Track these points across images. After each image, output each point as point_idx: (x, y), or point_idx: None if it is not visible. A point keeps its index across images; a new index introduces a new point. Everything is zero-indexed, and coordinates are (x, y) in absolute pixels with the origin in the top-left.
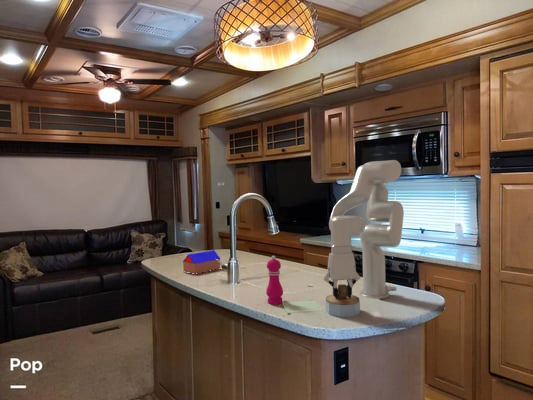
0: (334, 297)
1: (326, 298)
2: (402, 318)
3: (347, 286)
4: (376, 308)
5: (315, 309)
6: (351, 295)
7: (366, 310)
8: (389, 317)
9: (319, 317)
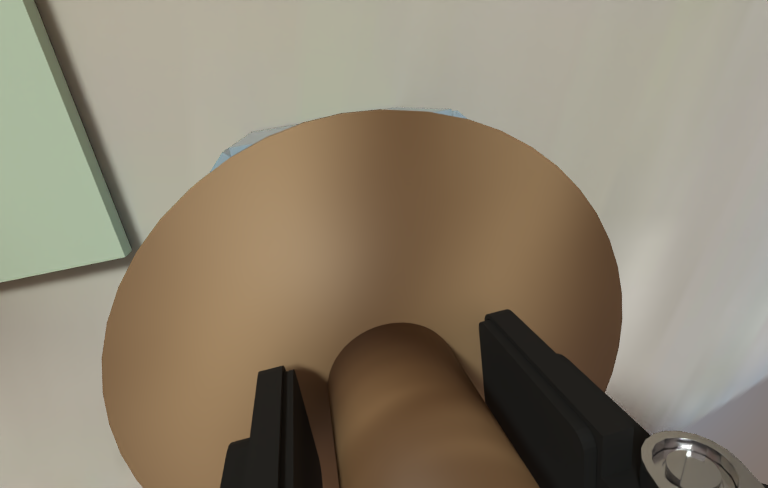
0: (265, 355)
1: (117, 418)
2: (750, 371)
3: (594, 475)
4: (705, 128)
5: (8, 222)
6: (561, 227)
7: (598, 191)
8: (686, 359)
9: (107, 418)
